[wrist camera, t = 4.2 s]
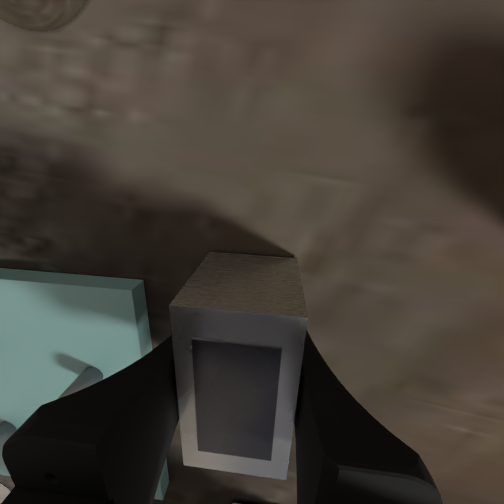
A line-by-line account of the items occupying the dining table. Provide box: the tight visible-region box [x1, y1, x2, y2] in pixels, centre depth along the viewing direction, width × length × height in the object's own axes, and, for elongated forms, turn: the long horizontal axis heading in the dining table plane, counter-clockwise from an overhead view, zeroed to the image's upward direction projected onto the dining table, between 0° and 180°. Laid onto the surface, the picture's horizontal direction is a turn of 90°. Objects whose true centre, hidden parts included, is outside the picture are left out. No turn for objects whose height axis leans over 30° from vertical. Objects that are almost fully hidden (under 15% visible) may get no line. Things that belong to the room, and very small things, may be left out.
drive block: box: [169, 252, 308, 480], centre depth 12 cm, size 8×4×5 cm, turn 178°
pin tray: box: [0, 268, 169, 500], centre depth 16 cm, size 18×14×3 cm
